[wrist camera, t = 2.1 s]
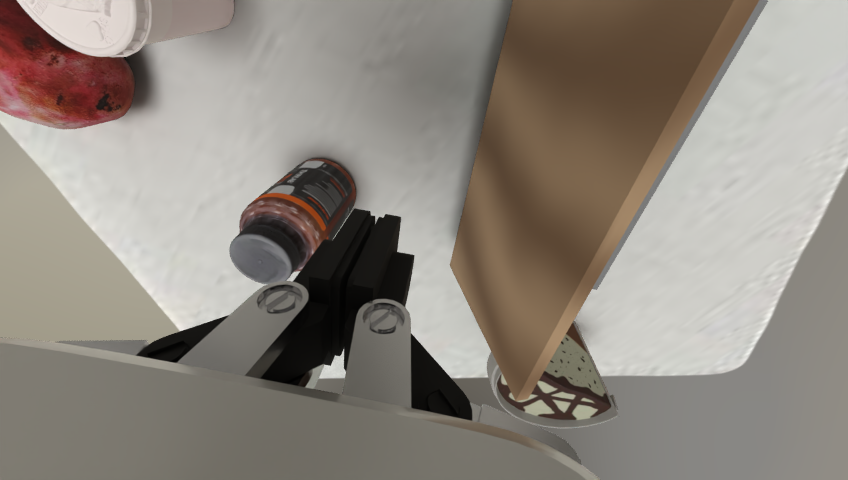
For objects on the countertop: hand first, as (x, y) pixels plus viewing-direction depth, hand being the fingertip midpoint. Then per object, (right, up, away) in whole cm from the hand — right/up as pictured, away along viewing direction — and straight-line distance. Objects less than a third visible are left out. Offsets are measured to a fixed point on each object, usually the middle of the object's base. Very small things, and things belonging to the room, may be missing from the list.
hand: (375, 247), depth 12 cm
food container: (+13, -9, +24) cm, 29 cm away
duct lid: (+8, +3, +6) cm, 10 cm away
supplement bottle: (-7, +5, +18) cm, 20 cm away
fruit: (-24, +15, +14) cm, 31 cm away
